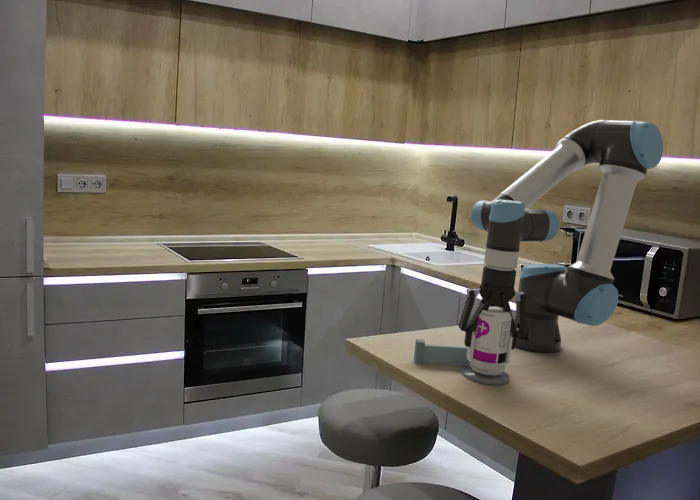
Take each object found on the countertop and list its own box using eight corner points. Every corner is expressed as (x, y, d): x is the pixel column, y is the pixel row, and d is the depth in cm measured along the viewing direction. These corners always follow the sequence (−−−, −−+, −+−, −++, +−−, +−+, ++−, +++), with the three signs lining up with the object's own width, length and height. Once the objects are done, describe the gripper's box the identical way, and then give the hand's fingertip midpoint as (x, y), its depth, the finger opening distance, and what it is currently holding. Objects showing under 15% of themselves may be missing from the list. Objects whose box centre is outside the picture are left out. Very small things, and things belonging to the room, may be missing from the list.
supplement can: (478, 376, 148) (487, 313, 145) (463, 363, 155) (470, 303, 153) (510, 376, 150) (519, 314, 147) (493, 363, 158) (501, 304, 155)
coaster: (500, 369, 159) (501, 366, 159) (515, 386, 148) (515, 383, 148) (457, 366, 158) (457, 364, 158) (468, 383, 147) (469, 381, 147)
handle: (491, 364, 161) (494, 343, 160) (494, 368, 159) (496, 346, 158) (413, 360, 159) (416, 338, 159) (415, 363, 157) (417, 342, 156)
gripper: (538, 266, 153) (525, 357, 157) (451, 260, 151) (440, 352, 155) (550, 273, 146) (536, 368, 150) (459, 267, 144) (447, 363, 148)
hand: (487, 360), depth 152 cm, fingers closed on supplement can, 8 cm apart
